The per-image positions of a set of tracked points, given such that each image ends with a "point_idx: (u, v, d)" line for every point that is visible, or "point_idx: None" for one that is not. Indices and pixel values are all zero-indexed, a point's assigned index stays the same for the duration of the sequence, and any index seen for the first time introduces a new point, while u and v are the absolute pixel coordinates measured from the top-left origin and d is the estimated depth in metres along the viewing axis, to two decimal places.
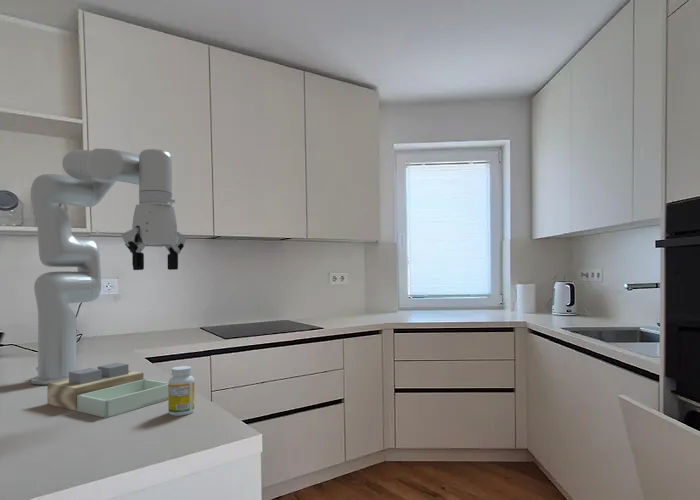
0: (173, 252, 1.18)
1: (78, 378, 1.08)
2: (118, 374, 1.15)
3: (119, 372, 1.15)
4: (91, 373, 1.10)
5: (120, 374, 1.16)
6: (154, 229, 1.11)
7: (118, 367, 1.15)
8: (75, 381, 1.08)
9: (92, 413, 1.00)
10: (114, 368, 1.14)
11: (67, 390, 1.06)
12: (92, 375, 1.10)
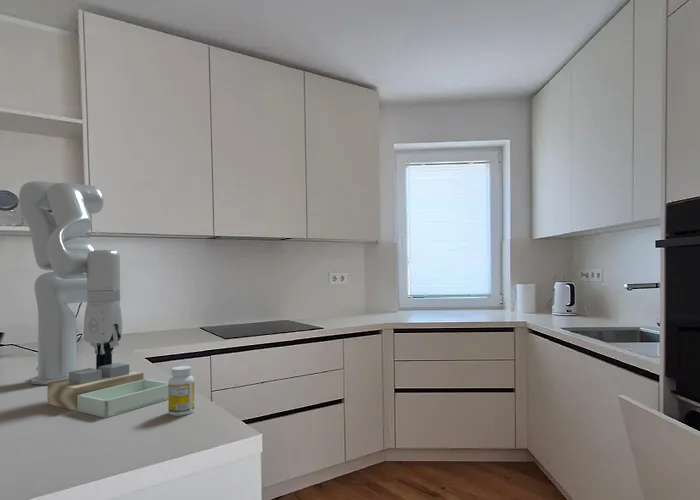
0: None
1: (78, 378, 1.08)
2: (119, 374, 1.15)
3: (120, 372, 1.15)
4: (91, 373, 1.10)
5: (121, 374, 1.16)
6: None
7: (119, 367, 1.15)
8: (75, 381, 1.08)
9: (92, 413, 1.00)
10: (115, 368, 1.14)
11: (67, 390, 1.06)
12: (92, 375, 1.10)
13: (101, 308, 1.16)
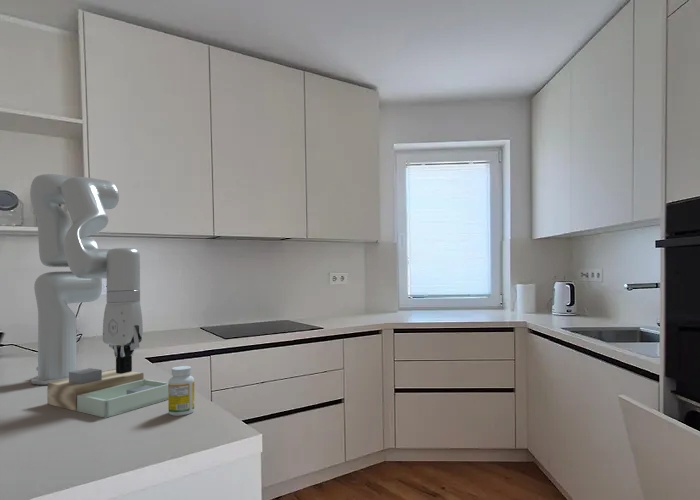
0: None
1: (78, 378, 1.08)
2: None
3: None
4: (91, 373, 1.10)
5: None
6: None
7: None
8: (75, 381, 1.08)
9: (92, 413, 1.00)
10: None
11: (67, 390, 1.06)
12: (92, 375, 1.10)
13: (121, 309, 1.11)
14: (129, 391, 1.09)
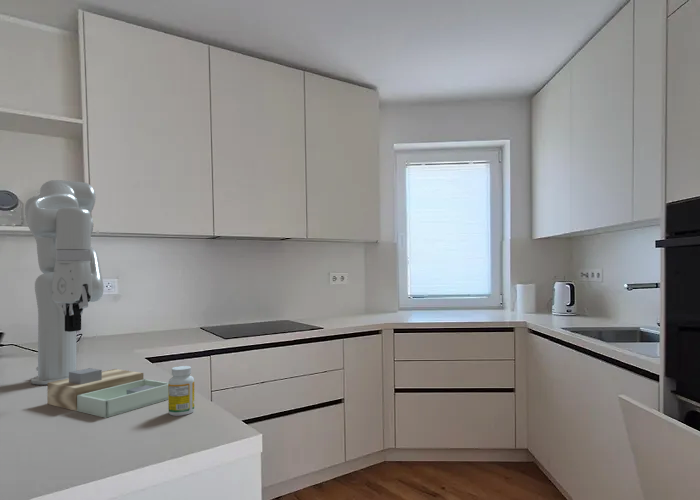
0: None
1: (78, 378, 1.08)
2: None
3: None
4: (91, 373, 1.10)
5: None
6: None
7: None
8: (75, 381, 1.08)
9: (92, 413, 1.00)
10: None
11: (67, 390, 1.06)
12: (92, 375, 1.10)
13: (70, 267, 1.12)
14: (129, 391, 1.09)
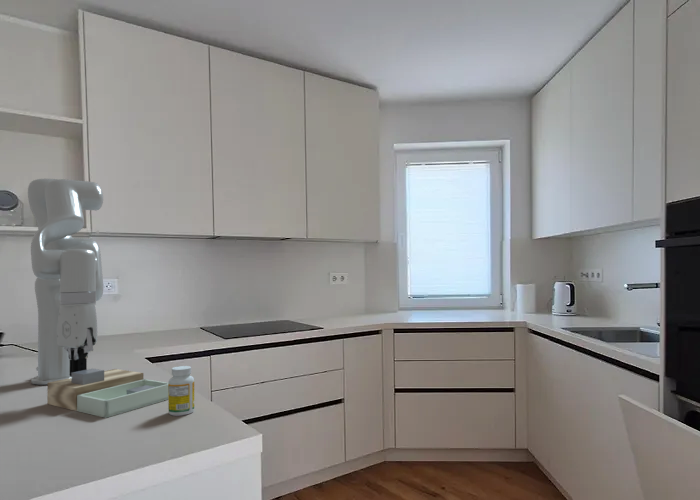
0: None
1: (81, 379, 1.07)
2: None
3: None
4: (94, 374, 1.09)
5: None
6: None
7: None
8: (77, 381, 1.08)
9: (92, 413, 1.00)
10: None
11: (67, 390, 1.06)
12: (94, 376, 1.09)
13: (74, 310, 1.09)
14: (129, 391, 1.09)
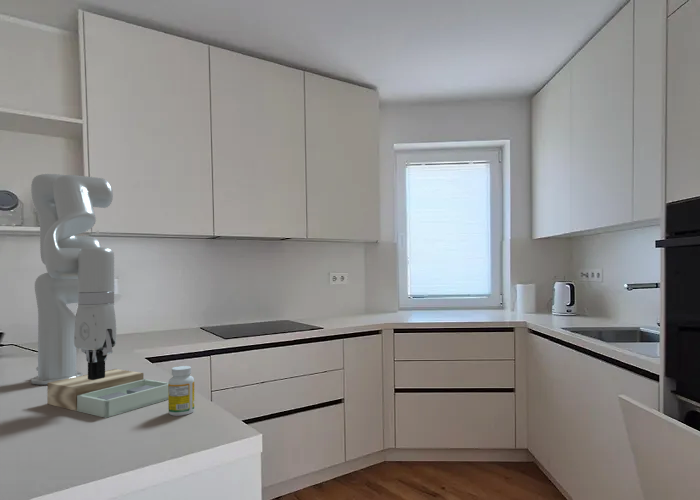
0: None
1: None
2: None
3: None
4: None
5: None
6: None
7: None
8: None
9: (92, 413, 1.00)
10: None
11: (67, 390, 1.06)
12: None
13: (93, 311, 1.05)
14: (129, 391, 1.09)
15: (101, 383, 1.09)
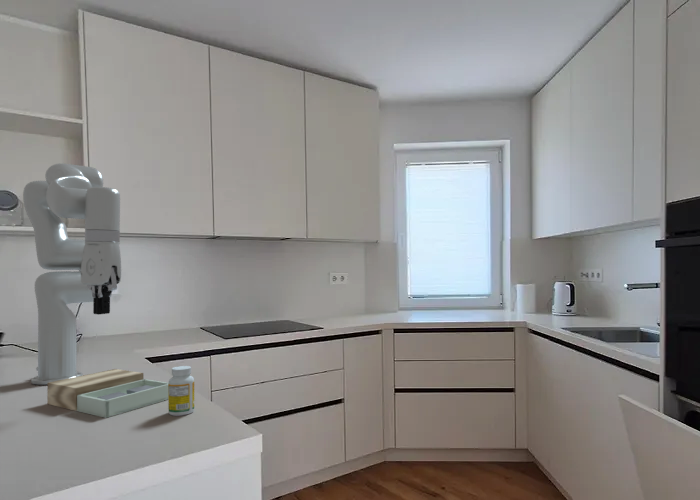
0: None
1: None
2: None
3: None
4: None
5: None
6: None
7: None
8: None
9: (92, 413, 1.00)
10: None
11: (67, 390, 1.06)
12: None
13: (99, 248, 1.09)
14: (129, 391, 1.09)
15: (101, 383, 1.09)
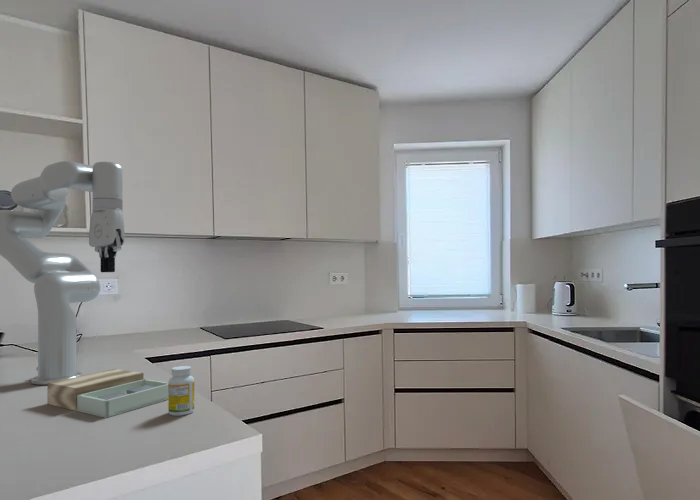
0: None
1: None
2: None
3: None
4: None
5: None
6: None
7: None
8: None
9: (92, 413, 1.00)
10: None
11: (67, 390, 1.06)
12: None
13: (105, 213, 1.26)
14: (129, 391, 1.09)
15: (101, 383, 1.09)
